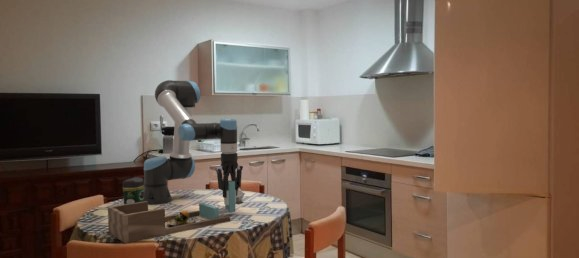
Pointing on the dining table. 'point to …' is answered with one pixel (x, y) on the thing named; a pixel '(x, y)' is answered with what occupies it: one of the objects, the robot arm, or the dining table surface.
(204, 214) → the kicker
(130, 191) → the coffee jar
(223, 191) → the robot arm
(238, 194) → the game die
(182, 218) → the burger
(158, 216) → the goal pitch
